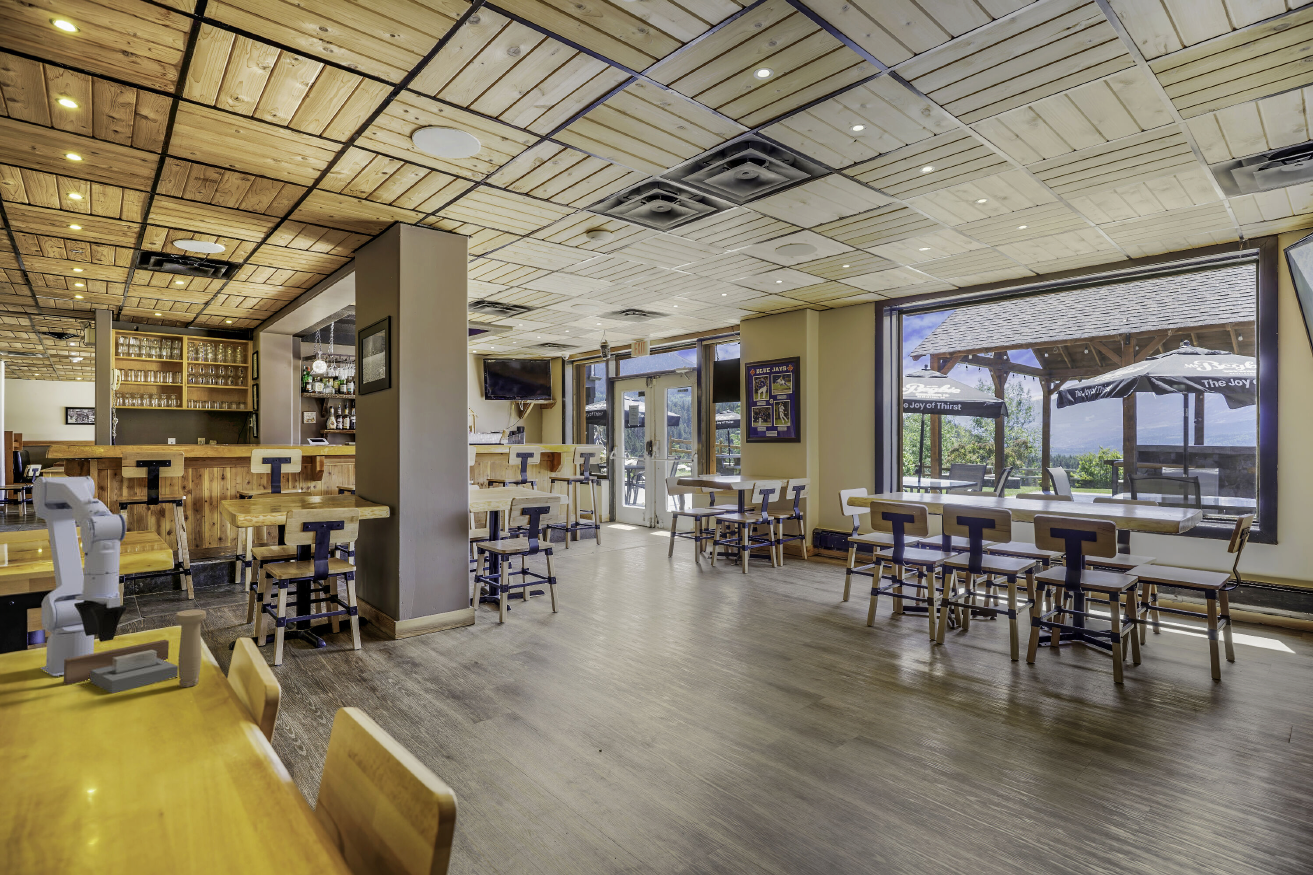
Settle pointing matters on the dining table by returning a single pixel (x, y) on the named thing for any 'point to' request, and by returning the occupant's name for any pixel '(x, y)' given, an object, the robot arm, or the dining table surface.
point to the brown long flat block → (106, 660)
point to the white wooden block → (133, 662)
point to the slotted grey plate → (132, 676)
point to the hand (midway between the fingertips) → (99, 637)
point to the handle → (190, 646)
